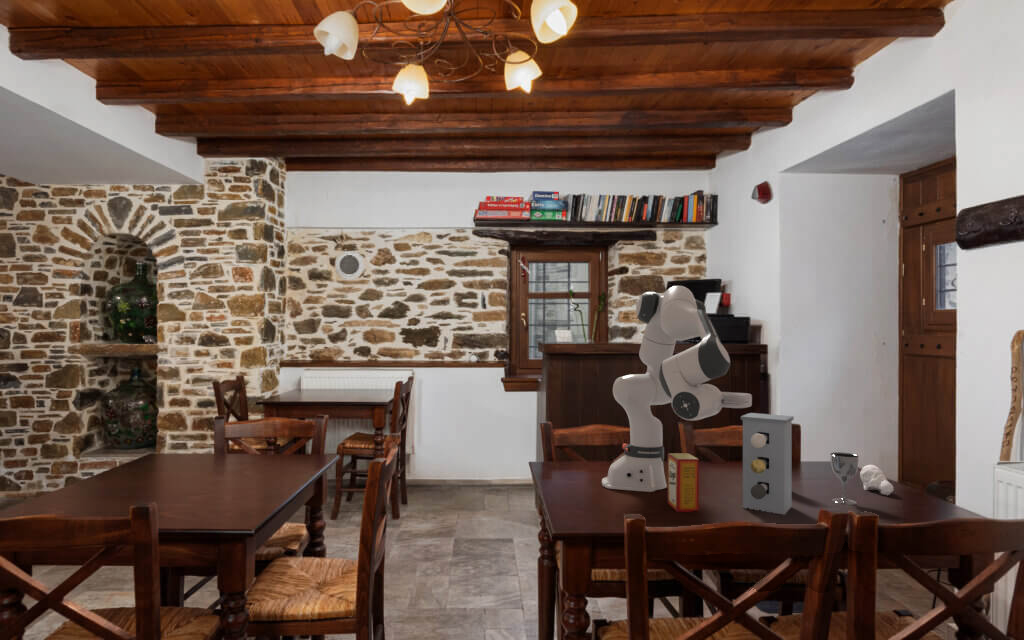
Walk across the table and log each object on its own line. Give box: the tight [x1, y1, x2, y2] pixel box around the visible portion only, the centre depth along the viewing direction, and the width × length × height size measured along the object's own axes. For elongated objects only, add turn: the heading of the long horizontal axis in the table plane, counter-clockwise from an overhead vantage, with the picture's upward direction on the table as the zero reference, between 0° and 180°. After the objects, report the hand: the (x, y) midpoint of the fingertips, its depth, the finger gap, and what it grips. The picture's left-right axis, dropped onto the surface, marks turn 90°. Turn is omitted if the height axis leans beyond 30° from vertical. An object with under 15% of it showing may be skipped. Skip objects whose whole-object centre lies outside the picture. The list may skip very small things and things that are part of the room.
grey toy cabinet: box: [740, 412, 795, 516], centre depth 192 cm, size 11×13×28 cm
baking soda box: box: [667, 452, 700, 513], centre depth 191 cm, size 10×6×16 cm
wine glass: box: [829, 451, 860, 506], centre depth 199 cm, size 8×8×15 cm
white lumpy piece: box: [859, 464, 894, 497], centre depth 211 cm, size 6×8×12 cm
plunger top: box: [751, 433, 769, 448], centre depth 186 cm, size 10×4×4 cm, turn 145°
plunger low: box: [751, 482, 769, 499], centre depth 186 cm, size 10×4×4 cm, turn 145°
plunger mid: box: [751, 457, 769, 474], centre depth 186 cm, size 10×4×4 cm, turn 145°
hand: (720, 396), depth 181 cm, fingers closed
